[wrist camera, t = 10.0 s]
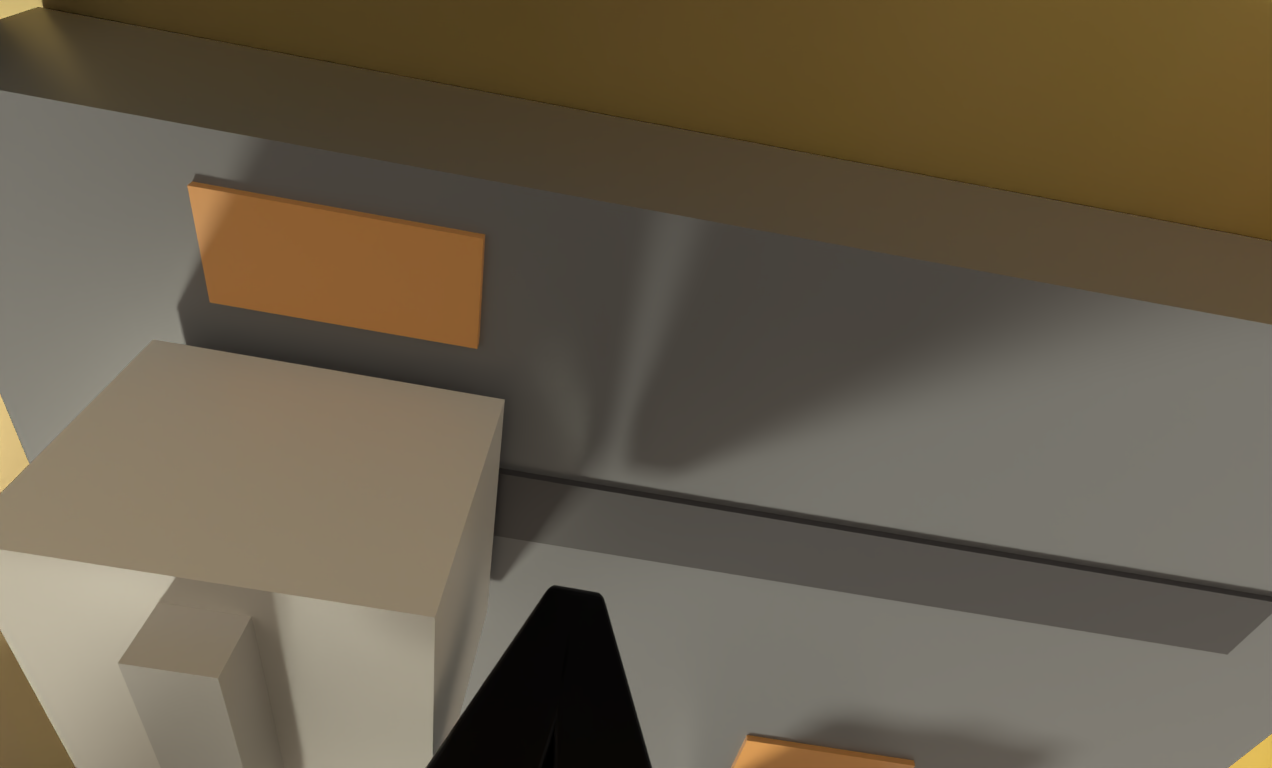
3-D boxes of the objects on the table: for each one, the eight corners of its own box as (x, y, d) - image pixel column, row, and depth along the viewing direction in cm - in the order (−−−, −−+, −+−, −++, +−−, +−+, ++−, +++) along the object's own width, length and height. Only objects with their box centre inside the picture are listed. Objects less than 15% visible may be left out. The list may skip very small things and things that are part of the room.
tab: (210, 566, 11) (43, 830, 8) (153, 339, 9) (-108, 602, 6) (486, 609, 11) (416, 883, 9) (505, 399, 9) (415, 681, 6)
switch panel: (242, 750, 20) (190, 859, 18) (37, 6, 9) (-146, 68, 7) (950, 854, 21) (977, 969, 19) (1504, 284, 10) (1703, 408, 8)
